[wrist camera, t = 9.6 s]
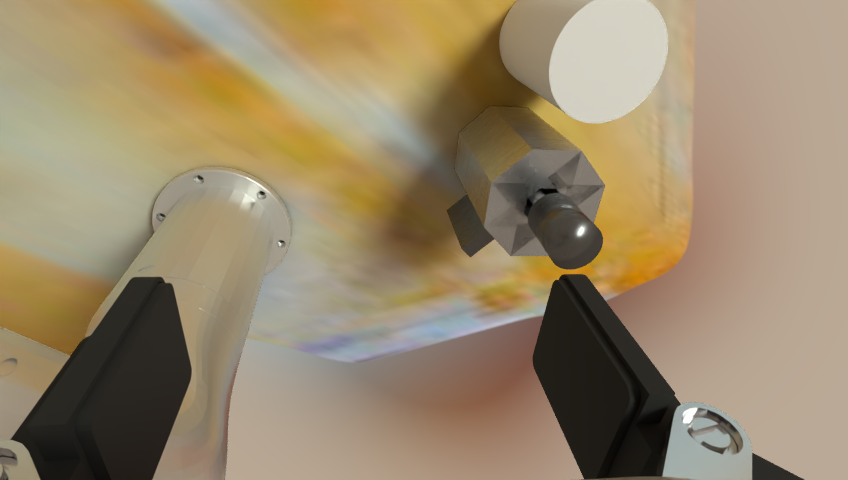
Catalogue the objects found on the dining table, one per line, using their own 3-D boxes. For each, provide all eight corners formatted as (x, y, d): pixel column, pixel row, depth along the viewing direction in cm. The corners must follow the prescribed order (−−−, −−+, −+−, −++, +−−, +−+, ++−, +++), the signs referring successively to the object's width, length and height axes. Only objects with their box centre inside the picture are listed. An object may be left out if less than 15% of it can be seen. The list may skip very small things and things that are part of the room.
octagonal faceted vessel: (470, 226, 50) (501, 293, 39) (416, 168, 45) (434, 227, 35) (561, 154, 47) (620, 207, 36) (512, 86, 43) (563, 124, 32)
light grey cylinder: (543, 103, 44) (602, 145, 34) (480, 48, 40) (524, 76, 30) (607, 28, 41) (691, 48, 31) (544, -38, 38) (616, -39, 28)
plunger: (499, 180, 46) (567, 278, 32) (478, 155, 44) (539, 246, 30) (528, 156, 45) (612, 246, 31) (508, 130, 44) (586, 212, 29)
